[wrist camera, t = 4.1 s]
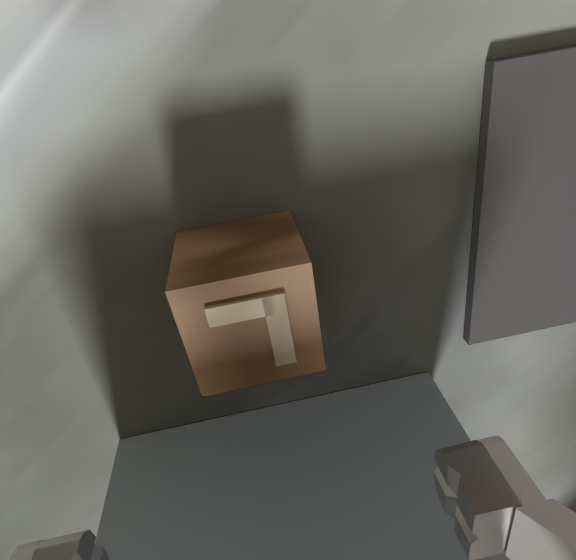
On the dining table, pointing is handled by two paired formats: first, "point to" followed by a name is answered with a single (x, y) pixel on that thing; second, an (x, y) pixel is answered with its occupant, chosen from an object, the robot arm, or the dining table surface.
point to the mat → (524, 198)
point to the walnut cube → (245, 303)
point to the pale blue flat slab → (291, 482)
